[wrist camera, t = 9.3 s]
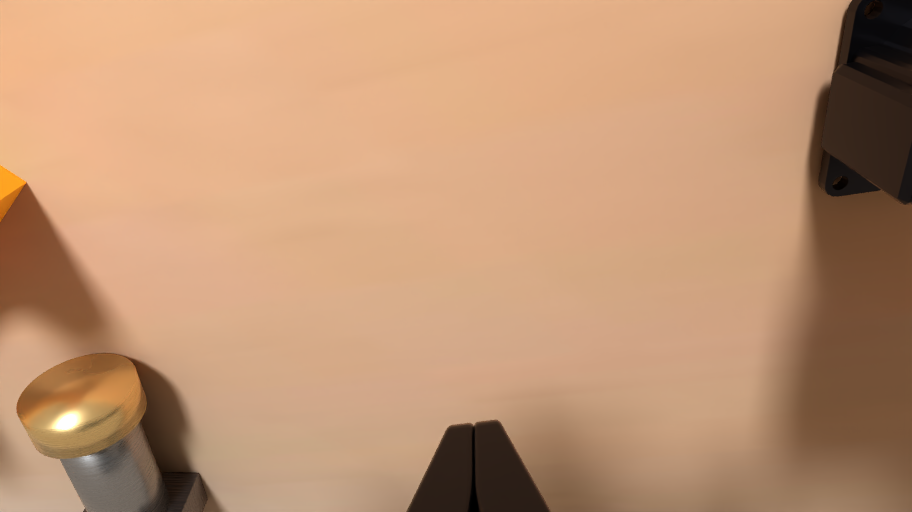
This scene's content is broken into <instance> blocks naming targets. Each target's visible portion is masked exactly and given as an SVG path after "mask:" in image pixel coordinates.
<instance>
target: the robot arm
mask: <svg viewBox="0 0 912 512" xmlns="http://www.w3.org/2000/svg"><path fill="white" fill-rule="evenodd" d="M872 1H874V3H875V6H874V9H873V11H872V12H871V13H870V14H869V15H867V16H865V14H864V11H865V8H866V6H867V5H868V4H869V3H870V2H872ZM821 147H822V148H823V149H824V152H823V158H822V163H821V169H820V175H819V186H820V188H821V189H822V190H823V191H824V192H826V193H827V194H828V195H831V196H844V195H851V194H858V193H865V192H872V191H878V190H882V191H884V192H885V193H887V194H888V195H889V196H891V197H892V198H894V199H895V200H897V201H898V202H899V203H901V204H904V205H906V204H912V0H852V1H851V3H850V5H849V8H848V11H847V17H846V23H845V29H844V34H843V40H842V46H841V52H840V58H839V64H838V67H837V69H836V70H835V71H834V73H833V76H832V82H831V88H830V94H829V100H828V106H827V112H826V118H825V124H824V130H823V136H822V142H821ZM840 176H842V178H841V180H840V181H839V182H838V183H837V184H834V185H832V184H833V182H834V180H835V179H836V178H838V177H840ZM407 512H551V511H550V509H549V507H548V506H547V504H546V502H545V500H544V498H543V497H542V495H541V493H540V491H539V490H538V488H537V486H536V484H535V483H534V481H533V479H532V477H531V475H530V474H529V472H528V470H527V468H526V467H525V465H524V463H523V461H522V460H521V458H520V456H519V454H518V452H517V451H516V449H515V447H514V445H513V444H512V442H511V440H510V438H509V437H508V435H507V433H506V431H505V429H504V428H503V426H502V424H501V423H500V422H499V421H498V420H489V421H481V422H477V423H475V425H473V424H471V423H465V424H456V425H451V426H449V427H448V428H447V430H446V431H445V434H444V436H443V438H442V440H441V442H440V444H439V446H438V448H437V450H436V452H435V454H434V456H433V458H432V460H431V462H430V464H429V467H428V469H427V471H426V473H425V475H424V477H423V479H422V481H421V483H420V485H419V487H418V489H417V491H416V493H415V495H414V497H413V499H412V502H411V504H410V506H409V508H408V510H407Z"/></svg>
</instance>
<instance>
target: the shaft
mask: <svg viewBox="0 0 912 512" xmlns="http://www.w3.org/2000/svg"><path fill="white" fill-rule="evenodd" d="M146 407H147V399H146V396H145V393H144V390H143V388H142V385H141V382H140V379H139V377H138V374H137V371H136V369H135V366H134V364H133V363H132V362H131V361H130V360H129V359H127V358H126V357H123V356H120V355H117V354H110V353H99V354H90V355H85V356H81V357H77V358H74V359H71V360H68V361H65V362H63V363H61V364H59V365H56V366H54V367H53V368H51V369H49V370H47V371H46V372H44V373H43V374H41V375H40V376H38V377H37V378H36V379H35V380H33V381H32V382H31V383H30V384H29V385H28V386H27V387H26V388H25V390H24V391H23V392H22V394H21V396H20V397H19V400H18V402H17V414H18V417H19V418H20V420H21V422H22V424H23V426H24V428H25V430H26V431H27V433H28V435H29V437H30V439H31V441H32V443H33V444H34V446H35V448H36V449H37V450H38V451H39V452H40V453H42V454H43V455H45V456H48V457H52V458H58V459H60V460H61V462H62V464H63V466H64V468H65V470H66V472H67V474H68V476H69V478H70V480H71V482H72V484H73V486H74V488H75V490H76V491H77V493H78V495H79V497H80V499H81V501H82V503H83V505H84V507H85V509H84V511H83V512H203V509H204V507H205V504H206V502H207V497H206V494H205V491H204V488H203V485H202V482H201V479H200V476H199V473H160V471H159V468H158V465H157V463H156V460H155V458H154V455H153V453H152V450H151V447H150V445H149V442H148V440H147V437H146V434H145V432H144V429H143V427H142V424H141V422H140V420H141V419H142V417H143V415H144V413H145V411H146Z"/></svg>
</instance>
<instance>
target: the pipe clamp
mask: <svg viewBox="0 0 912 512" xmlns="http://www.w3.org/2000/svg"><path fill="white" fill-rule="evenodd" d="M25 184H26V182H25V181H24V180H22V179H21V178H19V177H18V176H16V175H15V174H13V173H11V172H10V171H8V170H7V169H5V168H4V167H2V166H1V165H0V222H1V220H2V219H3V217H4V216H5V214H6V213H7V211H8V210H9V208H10V207H11V205H12V203H13V202H14V200H15V199H16V197H17V196H18V194H19V193H20V191H21V190H22V188H23V187H24V185H25Z"/></svg>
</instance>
